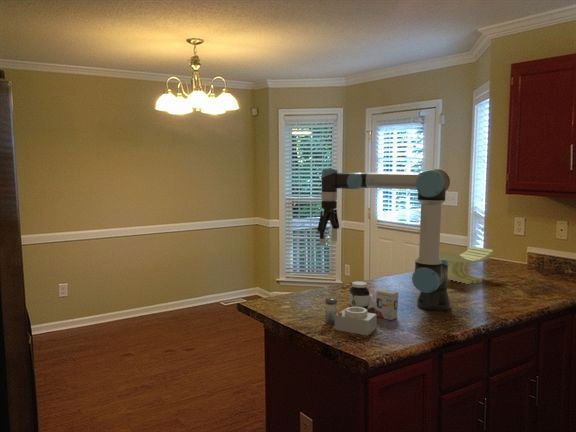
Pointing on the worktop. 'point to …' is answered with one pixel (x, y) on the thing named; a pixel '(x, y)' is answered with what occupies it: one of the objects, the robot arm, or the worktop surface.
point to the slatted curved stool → (464, 263)
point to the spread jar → (360, 295)
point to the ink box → (386, 304)
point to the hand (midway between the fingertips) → (328, 243)
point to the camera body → (355, 321)
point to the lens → (330, 310)
